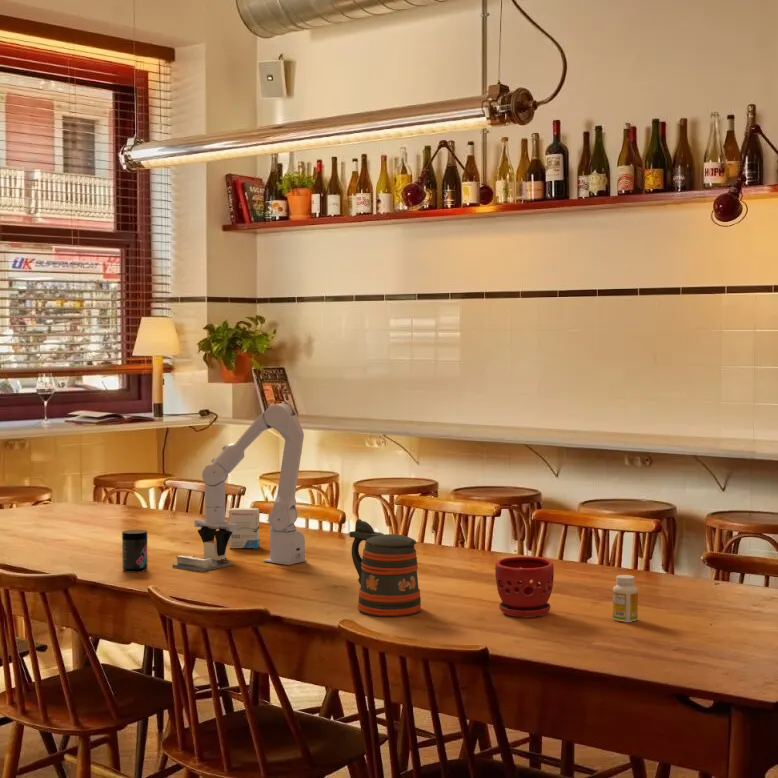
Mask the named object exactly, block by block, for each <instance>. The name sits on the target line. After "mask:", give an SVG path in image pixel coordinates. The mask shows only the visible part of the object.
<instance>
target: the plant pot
mask: <svg viewBox="0 0 778 778" xmlns="http://www.w3.org/2000/svg"><path fill="white" fill-rule="evenodd" d="M494 568H495V569H494V570H495V572H494V573H495V584H496V589H497V593H498V595H499V598H500V600H501V602H500V603H499V604H498V607H499V609H500V611H501V613H503V614H505V615H507V616H510V617H514V616H516V618H522V617H531V618H537V617H536V616H538V617H539V616H541V617H543V616H544V615H546V614H548V613H549V611H550V609H551V604H550V603H548V601H549V600H550V597H551V595H552V592H553V586H554V576H555V575H554V572H555V571H554V563H553V561H551V560H549V559H547V558H545V557H544V558H543V557H536V556H511V557H510V556H509V557H504V558H500V559H499V560H497V561H496V562H495V566H494ZM530 581H532V582H530Z"/></svg>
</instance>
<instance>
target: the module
mask: <svg viewBox="0 0 778 778" xmlns="http://www.w3.org/2000/svg"><path fill="white" fill-rule="evenodd" d="M227 549H228V548H227V546H226V550H225V554H224V555H221V556H218V554H217V542H216V539H214V540H213V541H208V542H204V544H203V558H211V559H214V560H221V559H224V560H226V559H225V558H227V559H228V556H227V555H228V554H227V552H228V551H227ZM221 561H222V560H221Z"/></svg>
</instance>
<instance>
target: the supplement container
mask: <svg viewBox="0 0 778 778" xmlns="http://www.w3.org/2000/svg"><path fill="white" fill-rule="evenodd" d="M121 543H122V545H121V546H122V548H121V549H122V550H121V551H122V557H121V558H122V559H121V561H122V563H121V564H122V570H123V571H124V570H125V571H124V572H126V571H140V572H144V571H143V570H145V571H146V570H147V569H148V567H149V566H148V565H149V564H148V558H149V557H148V556H149V555H148V530H146V529H127V530H123V531H121Z"/></svg>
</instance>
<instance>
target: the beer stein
mask: <svg viewBox="0 0 778 778" xmlns="http://www.w3.org/2000/svg"><path fill="white" fill-rule="evenodd" d="M348 534H349V535H348V536H349V538H354V539H353V542H352V545H351V558H352V562H353V566H354V569H355V570H356V572H357V575H358V579H357V581H358V583H359V585H360V588H359V589H358V602H357V609H358V611H359V612H361V613H363V614H365V615H369V616H373V617H380V618H381V617H384V618H396V617H397V618H398V617H408V616H413V615H416V614H418V613H419V612H420V611H421V610H422V607H421V606H422V604H421V602H422V601H421V600H422V597H421V589H420V587H419V579H418V569H419V567H418V565H419V564H418V556H417V550H416V549H415V545H416V544H417V541H416V540H415V539H414V538H411V537H410V536H408V535H403V534H396V533H395V534H393V533H392V534H391V533H389V534H387V533H386V534H384V533H383V532H378V531H374V529H373V527H372V526H371V524H369V523H368V522H367V521H366V520H362V519H360V518H359V519H356V521H355V528H354V530H353V531H350V532H349V533H348ZM362 541H365V544H364V548H363V550H362V556H361V555H360V552H359V549H360V545H361V542H362Z"/></svg>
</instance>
